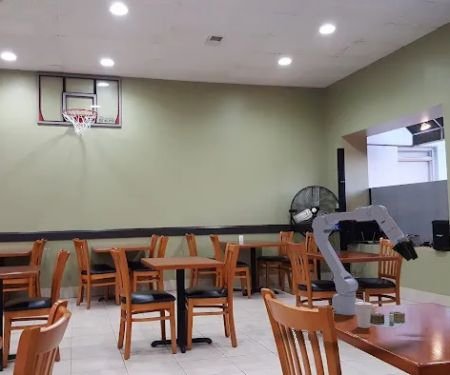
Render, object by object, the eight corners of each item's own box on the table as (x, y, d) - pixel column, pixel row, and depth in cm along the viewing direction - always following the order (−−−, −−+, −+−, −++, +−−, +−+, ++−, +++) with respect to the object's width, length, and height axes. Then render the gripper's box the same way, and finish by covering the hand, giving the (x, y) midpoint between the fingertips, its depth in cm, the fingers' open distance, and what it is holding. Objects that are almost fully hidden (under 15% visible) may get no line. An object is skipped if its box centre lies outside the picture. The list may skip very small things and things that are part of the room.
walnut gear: (370, 323, 184) (369, 315, 184) (369, 320, 189) (369, 312, 189) (384, 323, 182) (384, 315, 182) (384, 320, 187) (383, 313, 187)
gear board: (362, 327, 182) (362, 314, 182) (379, 319, 196) (379, 307, 197) (394, 331, 175) (394, 318, 175) (409, 322, 189) (409, 310, 189)
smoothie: (363, 332, 173) (362, 293, 174) (351, 329, 179) (350, 291, 180) (376, 330, 176) (375, 292, 177) (364, 327, 182) (363, 289, 183)
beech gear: (388, 320, 188) (388, 313, 188) (392, 318, 192) (392, 310, 192) (402, 322, 184) (401, 314, 185) (406, 320, 189) (406, 312, 189)
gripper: (394, 224, 185) (416, 254, 179) (405, 224, 196) (426, 252, 191) (379, 235, 188) (400, 264, 183) (392, 234, 200) (412, 262, 194)
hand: (413, 259), depth 187 cm, fingers open, 7 cm apart
